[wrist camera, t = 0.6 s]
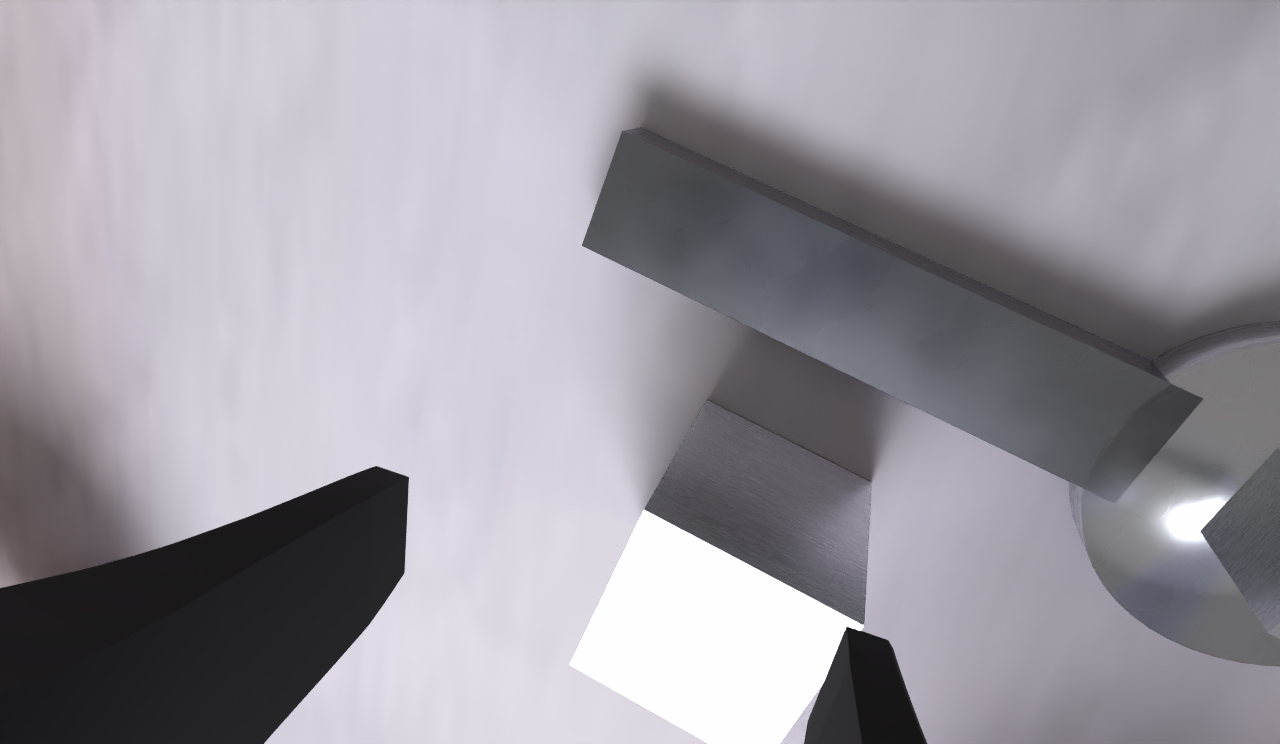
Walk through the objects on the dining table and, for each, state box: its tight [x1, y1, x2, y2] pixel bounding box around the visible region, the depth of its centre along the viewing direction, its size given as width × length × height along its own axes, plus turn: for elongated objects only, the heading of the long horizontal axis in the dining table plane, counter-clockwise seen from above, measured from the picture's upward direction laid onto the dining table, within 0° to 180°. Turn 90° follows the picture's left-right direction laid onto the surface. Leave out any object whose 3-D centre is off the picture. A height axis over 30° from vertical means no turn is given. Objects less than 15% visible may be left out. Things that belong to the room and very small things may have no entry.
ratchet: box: [582, 127, 1280, 666], centre depth 16 cm, size 8×21×5 cm, turn 68°
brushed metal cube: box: [570, 400, 872, 744], centre depth 19 cm, size 5×5×6 cm
